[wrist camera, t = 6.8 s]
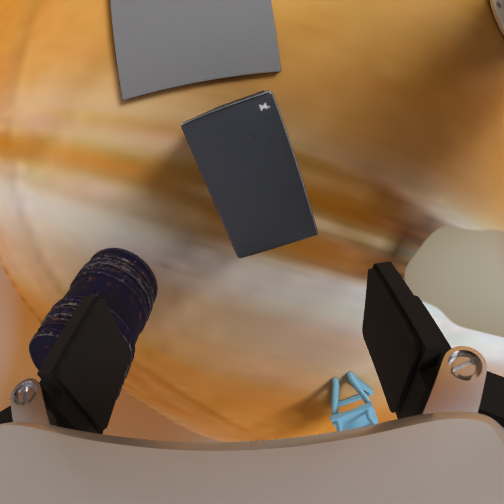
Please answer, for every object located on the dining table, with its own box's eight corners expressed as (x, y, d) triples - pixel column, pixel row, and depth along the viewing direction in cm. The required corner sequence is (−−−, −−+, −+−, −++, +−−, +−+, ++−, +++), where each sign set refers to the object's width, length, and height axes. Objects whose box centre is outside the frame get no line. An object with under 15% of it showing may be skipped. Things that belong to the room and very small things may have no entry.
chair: (364, 365, 43) (384, 429, 33) (372, 390, 47) (389, 447, 36) (318, 382, 45) (329, 447, 34) (331, 405, 48) (342, 463, 38)
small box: (200, 113, 27) (173, 123, 17) (266, 89, 26) (274, 85, 16) (240, 210, 31) (235, 263, 22) (301, 189, 30) (323, 235, 21)
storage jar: (80, 243, 33) (13, 323, 20) (155, 249, 34) (106, 345, 20) (95, 308, 38) (49, 392, 25) (161, 317, 38) (131, 413, 25)
